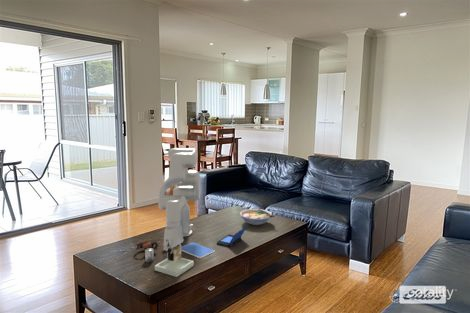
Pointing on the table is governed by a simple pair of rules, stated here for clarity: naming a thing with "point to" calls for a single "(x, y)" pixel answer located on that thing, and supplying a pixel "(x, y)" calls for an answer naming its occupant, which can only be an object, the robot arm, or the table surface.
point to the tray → (174, 266)
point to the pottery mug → (147, 245)
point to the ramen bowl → (256, 216)
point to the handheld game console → (231, 238)
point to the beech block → (176, 253)
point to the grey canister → (149, 255)
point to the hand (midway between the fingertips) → (174, 257)
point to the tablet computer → (197, 250)
